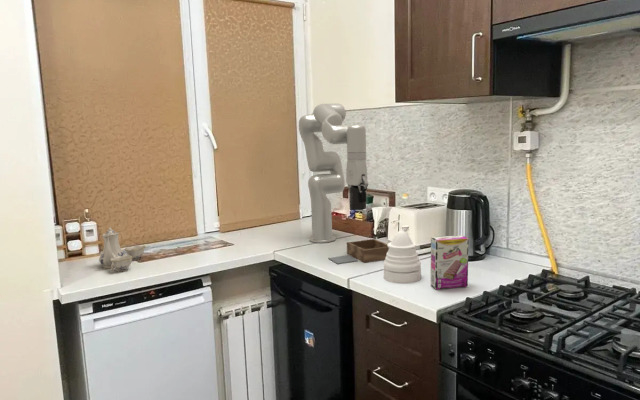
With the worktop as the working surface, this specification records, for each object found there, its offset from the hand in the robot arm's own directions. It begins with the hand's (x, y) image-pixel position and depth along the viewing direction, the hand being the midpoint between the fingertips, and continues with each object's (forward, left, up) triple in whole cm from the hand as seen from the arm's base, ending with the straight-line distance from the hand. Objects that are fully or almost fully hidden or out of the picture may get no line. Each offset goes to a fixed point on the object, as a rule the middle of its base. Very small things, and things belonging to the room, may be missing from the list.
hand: (357, 200), depth 195 cm
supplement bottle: (0, 0, -4) cm, 4 cm away
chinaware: (-40, -91, -24) cm, 102 cm away
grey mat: (0, -7, -23) cm, 25 cm away
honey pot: (+31, +1, -24) cm, 39 cm away
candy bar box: (+47, +9, -24) cm, 53 cm away
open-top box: (0, +5, -24) cm, 24 cm away
